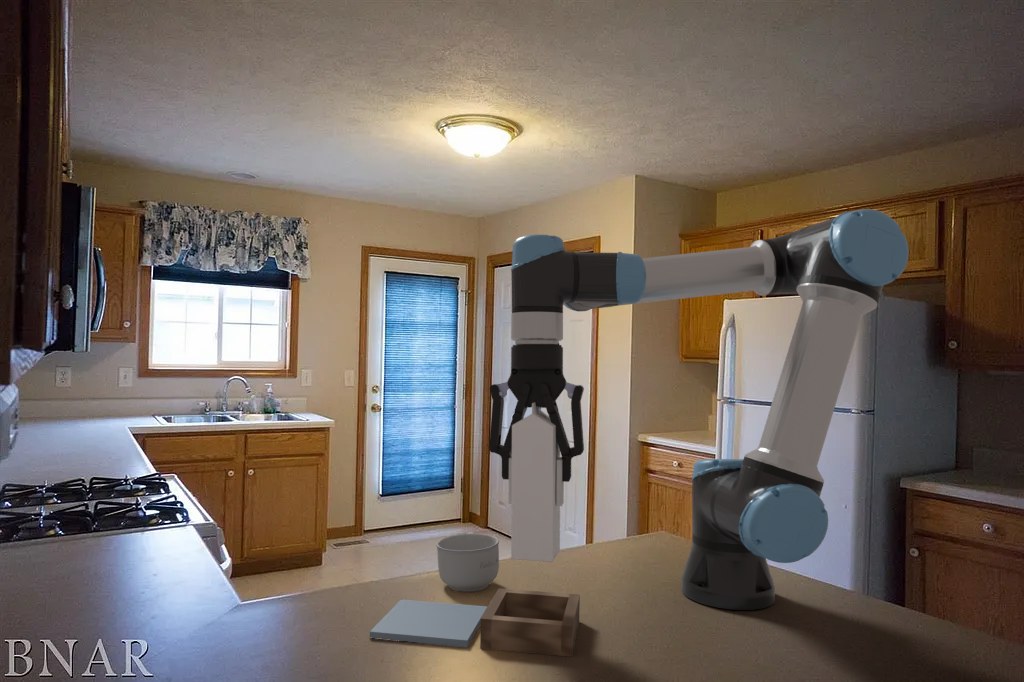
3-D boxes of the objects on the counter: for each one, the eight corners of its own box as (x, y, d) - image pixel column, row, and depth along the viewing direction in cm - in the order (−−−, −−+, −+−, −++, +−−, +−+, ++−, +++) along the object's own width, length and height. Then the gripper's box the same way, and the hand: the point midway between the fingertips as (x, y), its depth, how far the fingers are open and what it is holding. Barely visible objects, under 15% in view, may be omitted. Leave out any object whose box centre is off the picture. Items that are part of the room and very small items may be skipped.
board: (487, 613, 105) (487, 606, 105) (467, 647, 92) (467, 640, 92) (400, 605, 107) (401, 599, 107) (369, 638, 94) (369, 631, 94)
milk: (510, 559, 95) (510, 402, 96) (520, 548, 101) (520, 400, 102) (553, 562, 94) (552, 403, 94) (561, 550, 100) (560, 400, 100)
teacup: (490, 599, 111) (491, 550, 111) (427, 594, 113) (428, 545, 113) (507, 573, 124) (508, 530, 125) (451, 569, 127) (451, 526, 127)
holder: (579, 621, 102) (579, 594, 102) (572, 656, 90) (572, 626, 90) (498, 614, 104) (498, 588, 104) (480, 648, 92) (480, 618, 92)
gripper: (604, 343, 100) (604, 500, 100) (478, 343, 104) (477, 495, 103) (602, 342, 93) (602, 511, 92) (466, 342, 96) (465, 505, 96)
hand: (536, 502), depth 98 cm, fingers closed on milk, 6 cm apart
